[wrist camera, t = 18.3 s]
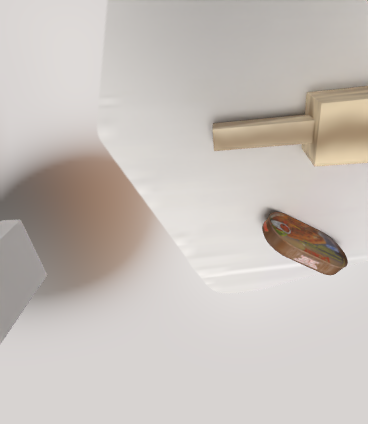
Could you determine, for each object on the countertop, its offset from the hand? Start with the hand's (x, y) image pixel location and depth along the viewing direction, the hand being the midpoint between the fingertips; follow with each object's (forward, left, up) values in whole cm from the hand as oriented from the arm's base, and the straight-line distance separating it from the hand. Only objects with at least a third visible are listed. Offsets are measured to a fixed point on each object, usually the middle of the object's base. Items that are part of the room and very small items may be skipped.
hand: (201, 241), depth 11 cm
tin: (+26, +13, -37) cm, 47 cm away
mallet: (+7, +10, -37) cm, 39 cm away
